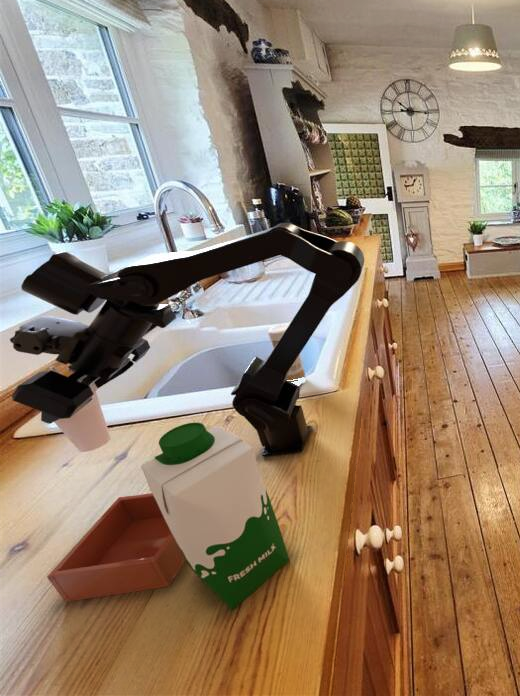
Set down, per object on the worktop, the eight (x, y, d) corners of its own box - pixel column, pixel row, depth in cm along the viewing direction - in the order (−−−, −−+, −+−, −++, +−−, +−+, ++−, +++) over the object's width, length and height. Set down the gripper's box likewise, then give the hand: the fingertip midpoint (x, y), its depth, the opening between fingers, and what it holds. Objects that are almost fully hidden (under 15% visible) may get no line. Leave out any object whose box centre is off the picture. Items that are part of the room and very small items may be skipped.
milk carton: (262, 527, 56) (215, 405, 48) (301, 558, 51) (257, 430, 43) (189, 582, 49) (121, 451, 41) (228, 624, 45) (160, 486, 37)
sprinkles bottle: (303, 375, 92) (289, 321, 87) (309, 383, 89) (294, 328, 84) (281, 383, 90) (265, 327, 84) (287, 392, 86) (270, 334, 81)
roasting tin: (217, 509, 59) (206, 485, 57) (169, 586, 49) (155, 560, 47) (131, 520, 58) (118, 497, 56) (65, 602, 47) (46, 576, 46)
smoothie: (73, 464, 60) (23, 382, 54) (61, 448, 63) (13, 370, 57) (128, 438, 65) (87, 361, 59) (114, 425, 68) (74, 351, 62)
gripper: (95, 278, 63) (46, 351, 66) (-13, 326, 47) (-74, 423, 49) (172, 317, 68) (124, 384, 70) (99, 374, 51) (38, 460, 54)
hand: (63, 408), depth 61 cm, fingers closed on smoothie, 6 cm apart
